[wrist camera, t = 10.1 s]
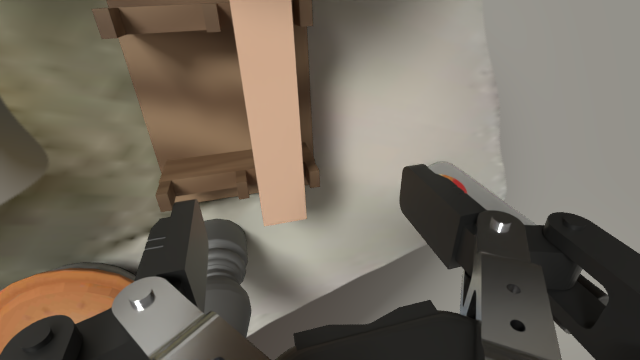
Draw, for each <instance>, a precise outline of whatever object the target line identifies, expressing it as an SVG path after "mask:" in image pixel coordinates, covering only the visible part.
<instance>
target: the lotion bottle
mask: <svg viewBox="0 0 640 360" xmlns="http://www.w3.org/2000/svg"><path fill="white" fill-rule="evenodd" d="M428 168H429V169H431V170H432V171H433V172H434V173H435V174H439V175H441V176H444V177H446V178H448V179H450V180H451V181H452V182H453V183H455V184H456V185H457V186H458V187H459V188H461V189H462V190H463V191H464V193H467V194H468V195H469V196H470V197H472V198H473V199H474V200H475V201H476V202H478V203H479V204H480V205H481V206H482V207H484V208H485V209H486V210H487V211H488V210H496V211H502V212H506V213H509V214H511V215H513V216H515V217H517V218H518V219H519V220H521V222H522V223H523V224H524V225H535V224H534V223H533V222H532V221H530V220H529V219H528V218H526V217H525V216H523V215H522V214H521V213H519V212H518V211H517V210H515V209H514V208H513V207H511V206H510V205H508V204H507V203H505V202H504V201H503V200H502V199H500V198H499V197H497V196H496V195H495V194H493V193H492V192H491V191H489V190H488V189H487V188H485V187H484V186H482V185H481V184H480V183H478V182H477V181H476V180H474V179H473V178H471V177H470V176H469V175H467V174H466V173H465V172H463V171H462V170H460V169H459V168H458V167H456V166H455V165H453V164H451V163H448V162H438V163H435V164H432V165H430V166H429V167H428ZM577 281H578V282H579V283H580V284H581V285H582V286H584V287H585V288H586V289H587V290H588V291H589V292H590V293H592V294H593V295H594V296H595V297H596V298H597V299H598V300H600V301H601V302H602V303H603V304H604V305H605V306H606V305H607V304H608V301H609V296H608V295H607V294H606V293H604V292H603V291H602V290H600V289H599V288H598V287H597V286H595V285H594V284H593V283H591V282H590V281H589V280H587V279H586V278H585V277H584V276H582V275H581V274H579V276H578V278H577ZM552 316H553V321H555V322H556V324H558V325H559V326H560V328H562V329H563V330H564V331H565V332H566V333H568V334H571V333H570V332H569V331H568V330H567V329H566V328H565V327H564V326H563V325H562V324H561V323H560V321H559V320H558V319H557V318H556V317H555V316H554V315H553V314H552Z"/></svg>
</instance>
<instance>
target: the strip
mask: <svg viewBox="0 0 640 360" xmlns="http://www.w3.org/2000/svg"><path fill="white" fill-rule="evenodd" d="M229 2H230V9H231V15H232V22H233V28H234V35H235V41H236V48H237V54H238V61H239V67H240V74H241V80H242V87H243V93H244V100H245V106H246V113H247V119H248V126H249V132H250V139H251V145H252V152H253V158H254V165H255V171H256V178H257V184H258V191H259V197H260V204H261V210H262V216H263V222H264V226H269V225H275V224H280V223H286V222H292V221H297V220H303V219H307V216H306V201H305V187H304V173H303V159H302V145H301V130H300V116H299V102H298V88H297V74H296V59H295V45H294V31H293V17H292V3H291V0H229Z"/></svg>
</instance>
